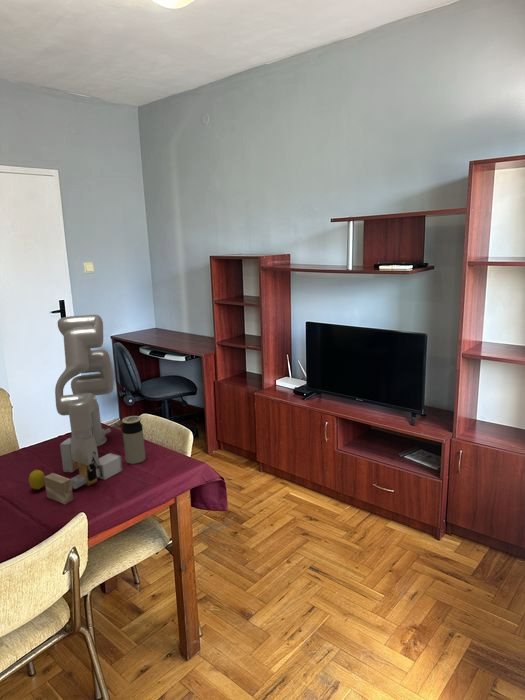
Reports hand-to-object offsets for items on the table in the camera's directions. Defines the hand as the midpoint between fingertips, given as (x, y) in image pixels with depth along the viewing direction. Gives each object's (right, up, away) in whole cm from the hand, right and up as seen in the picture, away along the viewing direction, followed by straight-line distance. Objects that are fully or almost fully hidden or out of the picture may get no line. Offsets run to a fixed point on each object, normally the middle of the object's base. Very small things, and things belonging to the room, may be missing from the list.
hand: (88, 477), depth 187 cm
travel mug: (+13, +2, +18) cm, 23 cm away
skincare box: (-11, 0, +13) cm, 17 cm away
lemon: (-18, -4, -3) cm, 18 cm away
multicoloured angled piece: (+1, -1, +3) cm, 3 cm away
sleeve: (+5, 0, +8) cm, 9 cm away
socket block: (-7, -5, -10) cm, 13 cm away
